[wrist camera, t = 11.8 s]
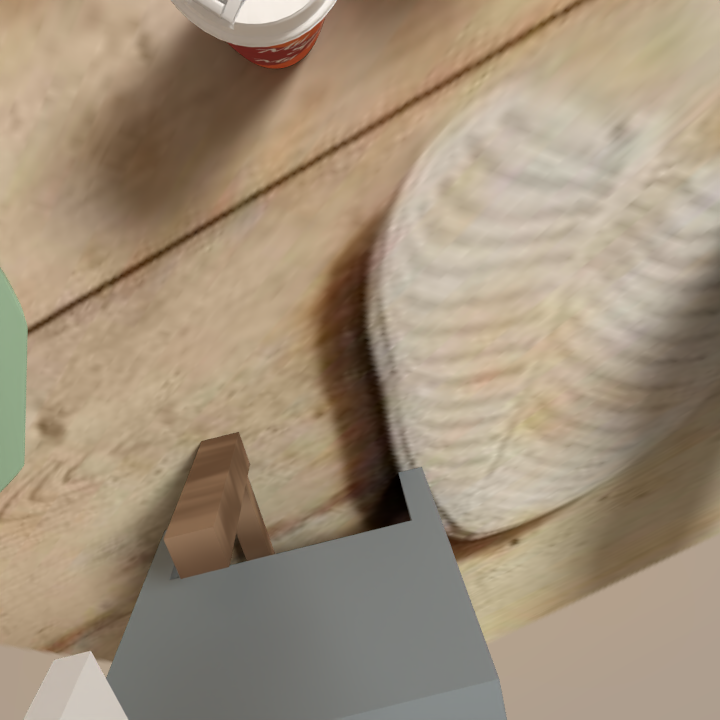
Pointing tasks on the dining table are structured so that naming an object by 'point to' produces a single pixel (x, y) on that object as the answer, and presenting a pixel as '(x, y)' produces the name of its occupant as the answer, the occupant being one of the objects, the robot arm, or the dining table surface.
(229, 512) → the pusher tool
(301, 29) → the coffee cup
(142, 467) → the dining table surface
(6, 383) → the miniature garden model
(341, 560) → the cabinet
